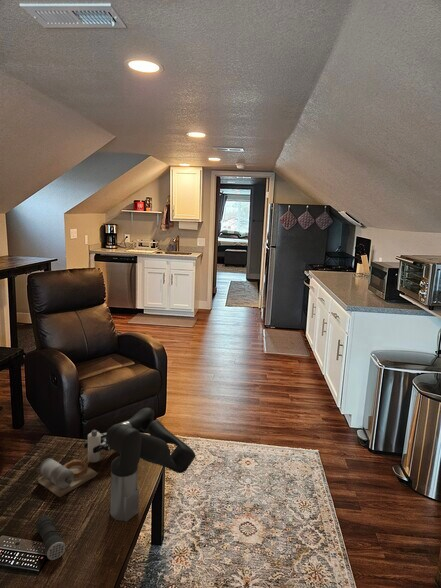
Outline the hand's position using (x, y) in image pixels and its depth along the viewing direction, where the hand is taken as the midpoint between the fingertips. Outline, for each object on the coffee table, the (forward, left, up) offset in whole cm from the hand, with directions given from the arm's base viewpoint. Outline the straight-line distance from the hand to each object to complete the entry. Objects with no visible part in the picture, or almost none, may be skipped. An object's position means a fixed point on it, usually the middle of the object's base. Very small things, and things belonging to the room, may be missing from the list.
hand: (89, 448), depth 171 cm
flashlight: (-24, +34, -9) cm, 42 cm away
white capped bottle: (0, -3, -6) cm, 7 cm away
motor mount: (0, +11, -8) cm, 13 cm away
